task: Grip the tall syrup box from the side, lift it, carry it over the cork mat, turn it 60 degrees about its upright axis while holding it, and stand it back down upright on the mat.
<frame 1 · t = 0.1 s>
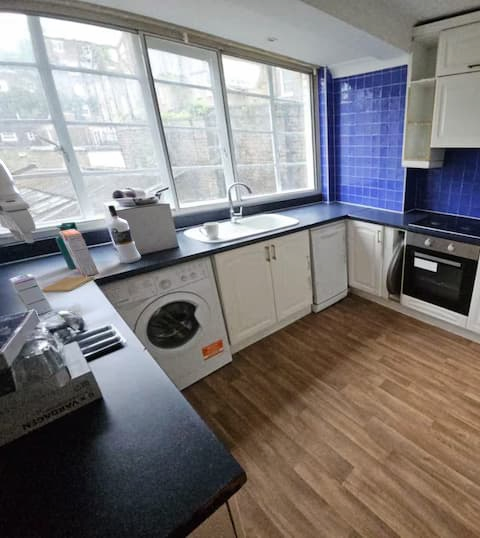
hand: (25, 241, 108), 26 cm above the table, tool pointing down, fingers open, 8 cm apart
syrup box: (40, 312, 111), on the table
cork mat: (68, 285, 133), on the table
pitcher: (81, 265, 156), on the table
cracker box: (87, 272, 146), on the table
vodka: (131, 261, 159), on the table
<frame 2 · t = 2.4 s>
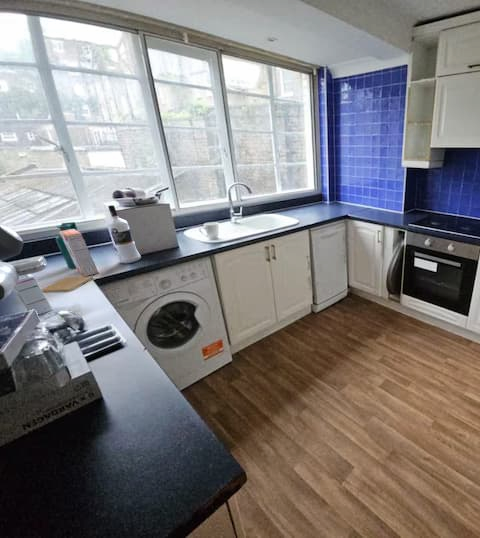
hand: (4, 265, 95), 22 cm above the table, tool horizontal, fingers open, 8 cm apart
nothing on the table moved.
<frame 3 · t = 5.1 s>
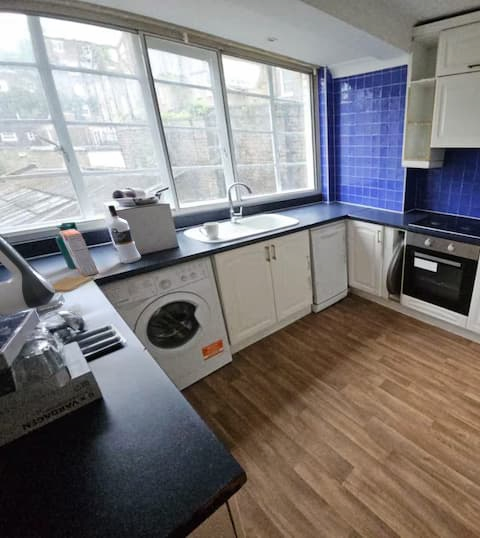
hand: (25, 300, 102), 8 cm above the table, tool horizontal, fingers open, 8 cm apart
nothing on the table moved.
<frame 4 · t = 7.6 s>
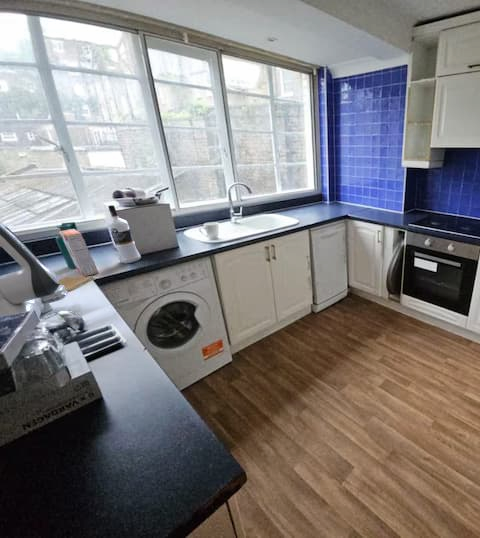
hand: (30, 292, 109), 8 cm above the table, tool horizontal, fingers closed on syrup box, 6 cm apart
syrup box: (40, 312, 111), on the table, touching gripper
everything else where it was.
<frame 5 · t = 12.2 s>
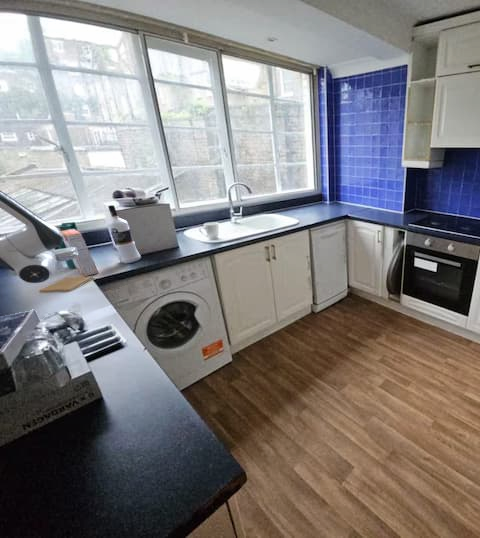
hand: (46, 253, 122), 17 cm above the table, tool horizontal, fingers closed on syrup box, 6 cm apart
syrup box: (54, 271, 125), point 9 cm above the table, touching gripper
everything else where it was.
when the fingers open (9 cm above the table, at t = 16.8 s): syrup box stays where it is, resting on cork mat.
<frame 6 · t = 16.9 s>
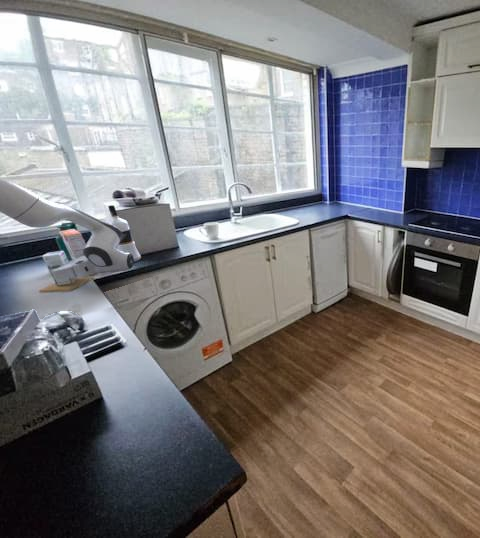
hand: (57, 267, 129), 9 cm above the table, tool horizontal, fingers open, 7 cm apart
syrup box: (67, 283, 132), point 1 cm above the table, touching cork mat
everything else where it was.
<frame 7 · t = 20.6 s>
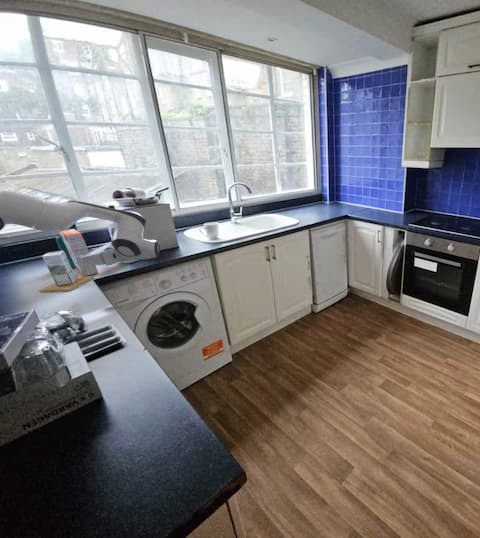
hand: (84, 254, 128), 14 cm above the table, tool horizontal, fingers open, 8 cm apart
nothing on the table moved.
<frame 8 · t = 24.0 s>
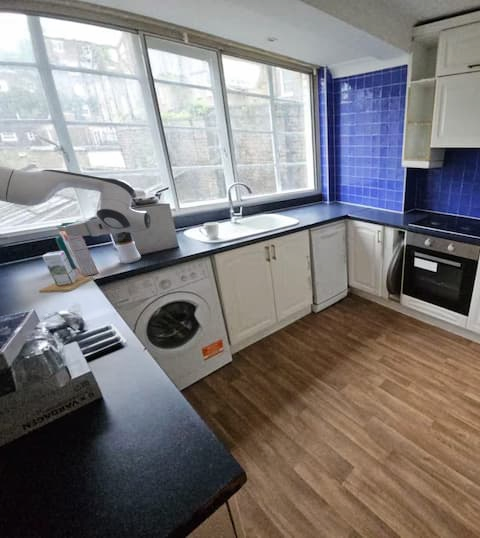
hand: (68, 225, 118), 28 cm above the table, tool horizontal, fingers open, 8 cm apart
nothing on the table moved.
at the end: syrup box inside the target area on the cork mat (0.0 cm from its centre), point 0.8 cm above the cork mat's base; syrup box tilted 0°; the gripper is holding nothing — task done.
